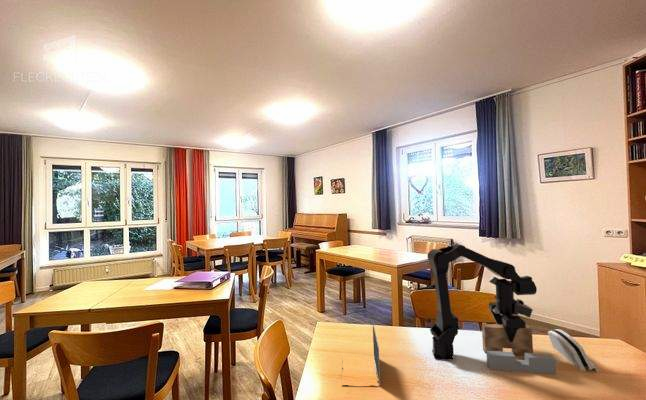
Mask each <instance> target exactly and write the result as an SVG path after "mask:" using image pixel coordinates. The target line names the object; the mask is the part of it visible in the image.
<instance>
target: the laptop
mask: <svg viewBox="0 0 646 400" xmlns="http://www.w3.org/2000/svg"><path fill="white" fill-rule="evenodd" d="M372 339H373V340H372V341H373V356H374V360H375V364H376V366H375V367H376V368H375V369H373V370H377V371H376V372H377V375H378V381H379V385H380V386H381V370H380V367H381V365H380V348H379V342H378V338H377V334H376V329H375V325H374V324H372ZM375 364H374V365H375ZM372 367H373V366H372Z"/></svg>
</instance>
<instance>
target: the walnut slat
mask: <svg viewBox="0 0 646 400" xmlns="http://www.w3.org/2000/svg"><path fill="white" fill-rule="evenodd" d="M481 334H482V335H481V336H482V350H483V352H484V353H485V354H486V355H487V351H501V352H504V349H510V350H511V352H512V353H513V354H514V356H515V357H516V356H520V357H525V353H534V348H533V347H534V344H533V328H531V327H530V326H529V325H526V328H519V329H518V330H517V332H516V334H515V337H514V340H513V342H509V340H508V337H507V335H506V332H505V330H504V328H503V325H497V323H496V324H495V323H492V324H491V323H482V324H481Z"/></svg>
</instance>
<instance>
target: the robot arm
mask: <svg viewBox="0 0 646 400" xmlns="http://www.w3.org/2000/svg"><path fill="white" fill-rule="evenodd" d="M460 257H463V258H465V259H467V260H469V261H471V262H474V263H476V264H478V265H481V266H483V267H484V268H486V269H487V270H488V271H490V272H491V273H493V275H496V276H498V277H500V278H498V277H496V276H493V278H492V279H490V280H489V283H491V284H493V285H495V295H494V298H493V299H495V301H490V302H489V303H488V309H489V311H490V313H491V315H492V317H493V319H494V321H495V323H496V324H497V325H503V328H504V330H505V332H506V335H507V337H508V340H509V342H513V340H514V337H515V334H516V332H517V330H518V329H519V328H526V326H527V324H526V321H525V320H524V319H523V318H522V317H520V316H519V314H520V315H522V316H525V317H527V318H531V316H532V313H533V311H534V310H533V308H531V307H530V306H528V305H526V304H525V302H524V301H523V300H521V299H519V298H517V299H515V295H516V296H533V295H537V294H536V293H537V285H536V283H535V282H534V281H533V277H532V276H529V275H524V276H520V275H519V274H518V273H517V272H516V266H514V265H513V264H512V263H507V262H505V261H502V260H498V259H494V258H491V257H488V256H485V255H484V254H481V253H479V252H477V251H474V250H472V249H470V248H468V247H465V246H464V245H462V244H460V243H459V244H458V243H455V244H452V245H449V246H445V247H441V248H438V249H437V248H433V249H431V250H430V251H429V252H427V260H428V264H429V266H430V269H431V271H432V273H433V279H434V286H435V288H434V289H435V294H436V295H435V296H436V303H437V304H436V305H437V313H436V315H435V323H434V324H433V326H432V327H431V328H429V330H430V331H429V332H430V334H431V335H432V351H431V352H432V355H433V357H434V359H435V360H442V361H443V360H446V361H454V355H455V354H454V341H455V337H456V336H458V333H459V330H460V327H459V318H458V317H457V316H456V315H455V314H454V313H452V309H451V301H450V293H449V292H450V291H449V285H448V277H447V275H448V271H449V269H450V263H451V262H454V261H456V260H457V259H458V258H460ZM514 294H515V295H514Z"/></svg>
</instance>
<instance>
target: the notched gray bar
mask: <svg viewBox="0 0 646 400" xmlns="http://www.w3.org/2000/svg"><path fill="white" fill-rule="evenodd" d="M486 365H487V367H488V368H489V370H490V371H491V370H492V371H505V372H507V371H508V372H516V373H520V372H521V373H532V374H547V375H549V374H550V375H557V374H558V373H557V372H558V371H557V359H556V357H554V355H553V354H551V353H548V354H547V353H537V352H536V353H535V352H533V353H525V356H524V359H516V355H514V354H513V352H512V351H503V352H501V351H487V354H486Z"/></svg>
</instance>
